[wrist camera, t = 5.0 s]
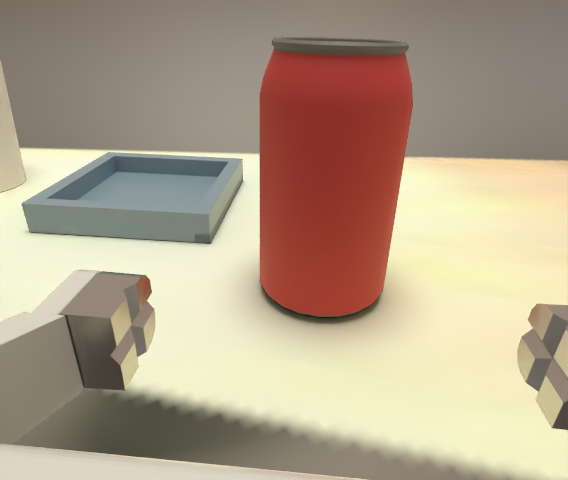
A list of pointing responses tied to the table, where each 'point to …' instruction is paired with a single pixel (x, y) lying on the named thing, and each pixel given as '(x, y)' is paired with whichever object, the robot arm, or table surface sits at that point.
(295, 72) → the beer can
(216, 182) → the slate tray
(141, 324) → the robot arm
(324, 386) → the table surface
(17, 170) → the white coffee cup
